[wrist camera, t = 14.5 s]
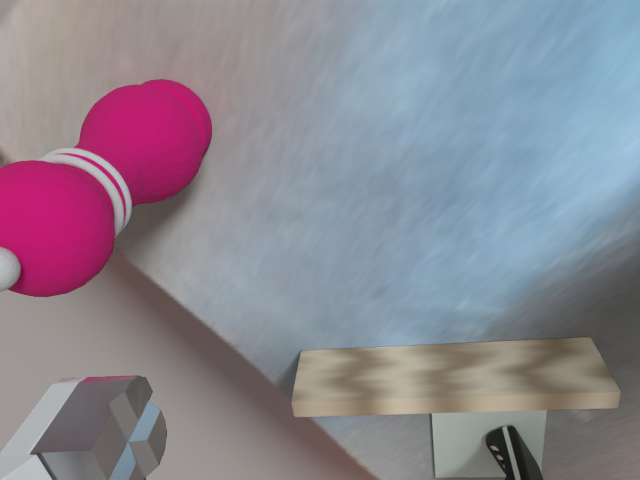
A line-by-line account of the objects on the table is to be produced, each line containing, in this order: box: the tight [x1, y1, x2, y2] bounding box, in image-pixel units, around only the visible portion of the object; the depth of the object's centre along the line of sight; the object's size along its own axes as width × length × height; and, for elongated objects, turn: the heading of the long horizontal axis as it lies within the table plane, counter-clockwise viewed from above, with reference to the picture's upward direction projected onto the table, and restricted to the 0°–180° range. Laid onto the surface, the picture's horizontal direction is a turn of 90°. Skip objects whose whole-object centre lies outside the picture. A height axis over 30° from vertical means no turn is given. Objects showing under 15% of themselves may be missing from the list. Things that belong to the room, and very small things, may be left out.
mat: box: [432, 410, 547, 478], centre depth 48 cm, size 10×10×1 cm
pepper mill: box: [0, 79, 212, 297], centre depth 28 cm, size 7×7×20 cm
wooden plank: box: [291, 337, 621, 417], centre depth 41 cm, size 24×2×6 cm, turn 98°
